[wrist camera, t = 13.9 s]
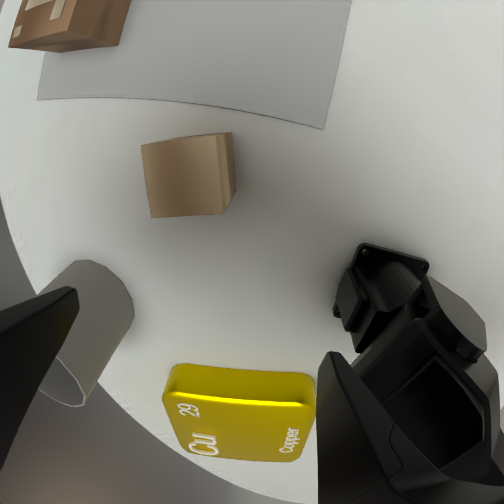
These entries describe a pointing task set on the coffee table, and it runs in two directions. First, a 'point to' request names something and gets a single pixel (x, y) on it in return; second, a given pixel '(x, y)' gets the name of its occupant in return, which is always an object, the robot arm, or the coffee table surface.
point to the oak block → (189, 175)
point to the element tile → (240, 412)
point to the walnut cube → (69, 24)
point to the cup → (88, 331)
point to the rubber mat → (214, 57)
